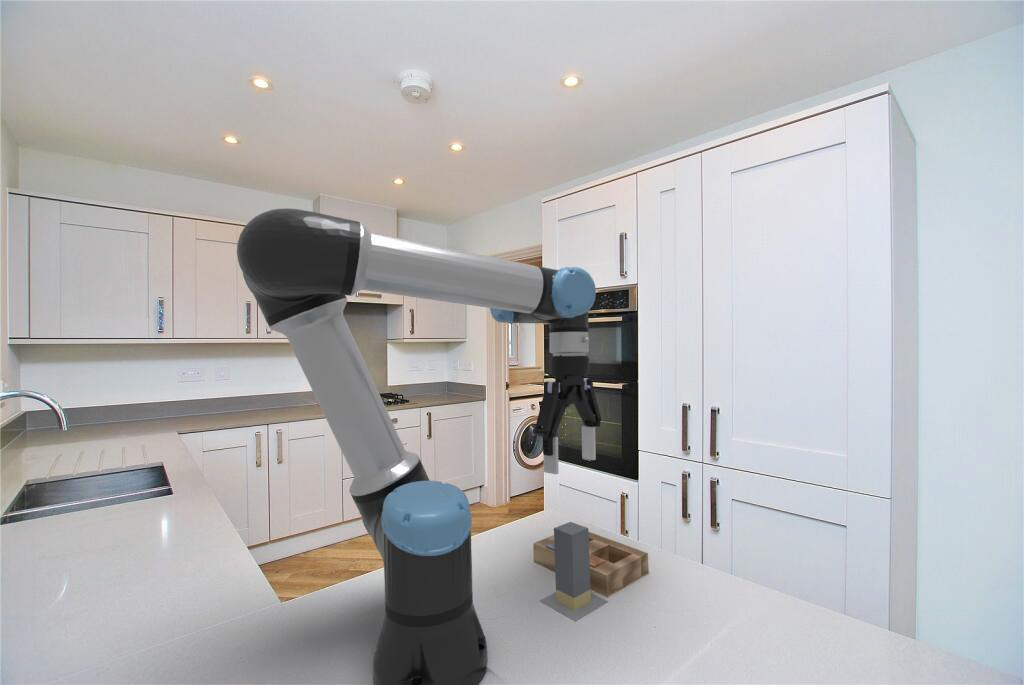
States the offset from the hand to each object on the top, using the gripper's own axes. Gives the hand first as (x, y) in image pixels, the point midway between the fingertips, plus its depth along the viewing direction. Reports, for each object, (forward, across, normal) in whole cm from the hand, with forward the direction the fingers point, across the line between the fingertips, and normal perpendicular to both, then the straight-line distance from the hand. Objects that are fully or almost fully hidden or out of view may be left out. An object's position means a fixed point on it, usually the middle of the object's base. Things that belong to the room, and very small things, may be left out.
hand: (571, 465), depth 90 cm
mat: (+20, -10, -7) cm, 23 cm away
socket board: (+19, +2, -3) cm, 20 cm away
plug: (+19, -10, -7) cm, 23 cm away
